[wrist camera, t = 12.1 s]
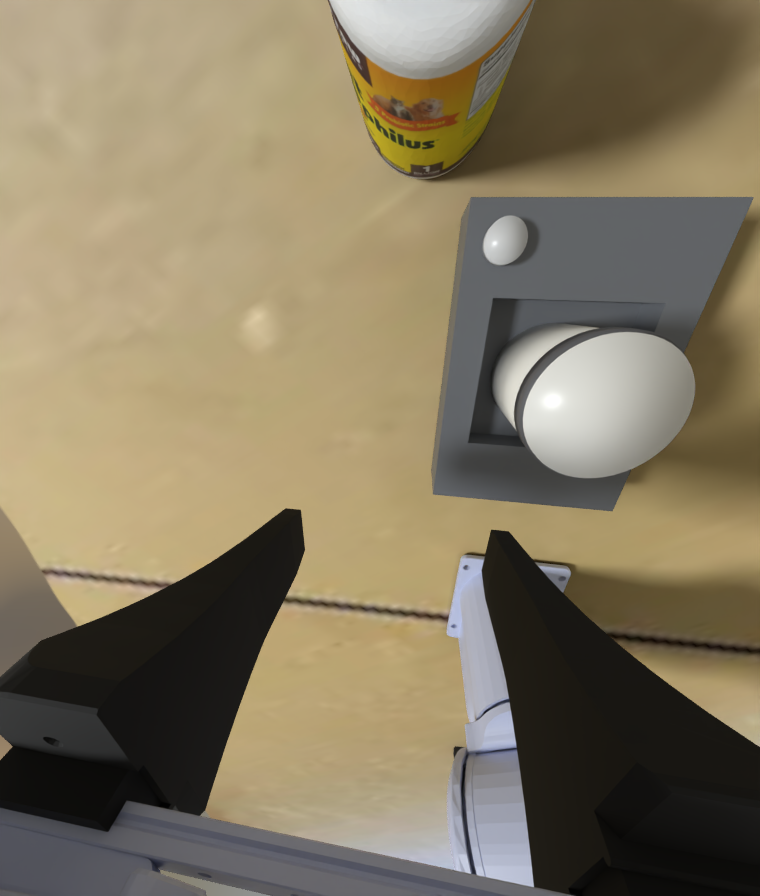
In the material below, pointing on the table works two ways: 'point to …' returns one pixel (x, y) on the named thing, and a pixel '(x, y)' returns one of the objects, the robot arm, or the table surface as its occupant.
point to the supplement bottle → (428, 73)
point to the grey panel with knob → (563, 315)
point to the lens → (593, 395)
